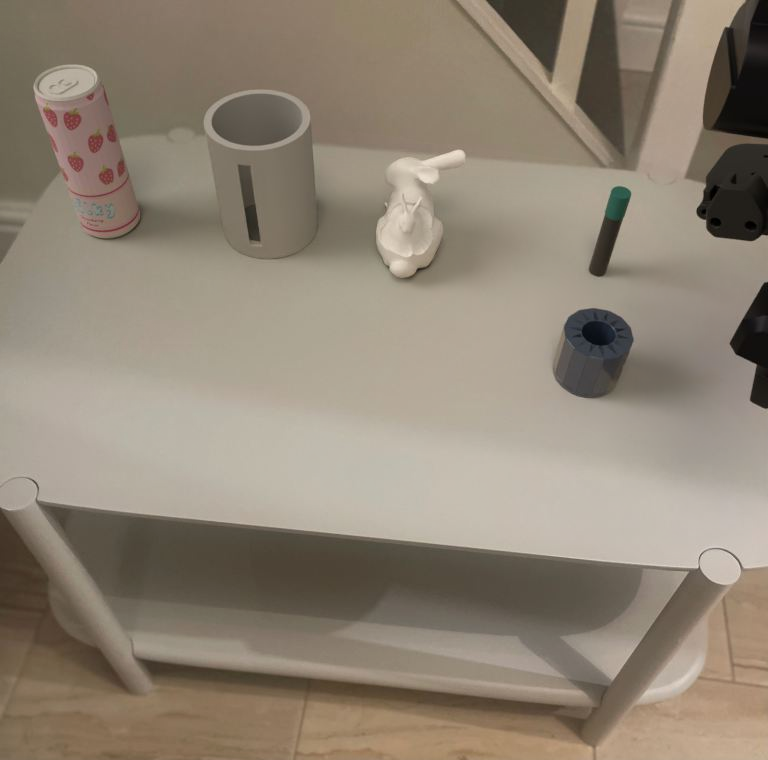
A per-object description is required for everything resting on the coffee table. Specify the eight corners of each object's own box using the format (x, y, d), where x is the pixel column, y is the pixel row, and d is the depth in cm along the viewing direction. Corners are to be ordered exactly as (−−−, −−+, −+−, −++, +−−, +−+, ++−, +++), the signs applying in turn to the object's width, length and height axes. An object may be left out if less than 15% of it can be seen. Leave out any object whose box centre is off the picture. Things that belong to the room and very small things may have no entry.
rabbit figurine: (384, 201, 80) (386, 117, 73) (459, 207, 80) (469, 123, 72) (370, 284, 73) (370, 200, 65) (452, 292, 72) (462, 208, 65)
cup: (306, 190, 81) (298, 83, 72) (326, 249, 76) (320, 141, 66) (217, 205, 79) (197, 97, 70) (231, 266, 74) (211, 157, 65)
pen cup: (593, 340, 69) (607, 300, 65) (631, 386, 66) (647, 346, 62) (540, 359, 67) (551, 319, 63) (576, 407, 64) (589, 368, 60)
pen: (599, 262, 75) (623, 183, 68) (609, 273, 74) (635, 195, 67) (584, 267, 75) (607, 188, 67) (594, 278, 74) (618, 200, 66)
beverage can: (72, 237, 76) (19, 96, 64) (94, 200, 80) (46, 59, 68) (130, 243, 76) (86, 102, 64) (148, 205, 79) (110, 65, 67)
